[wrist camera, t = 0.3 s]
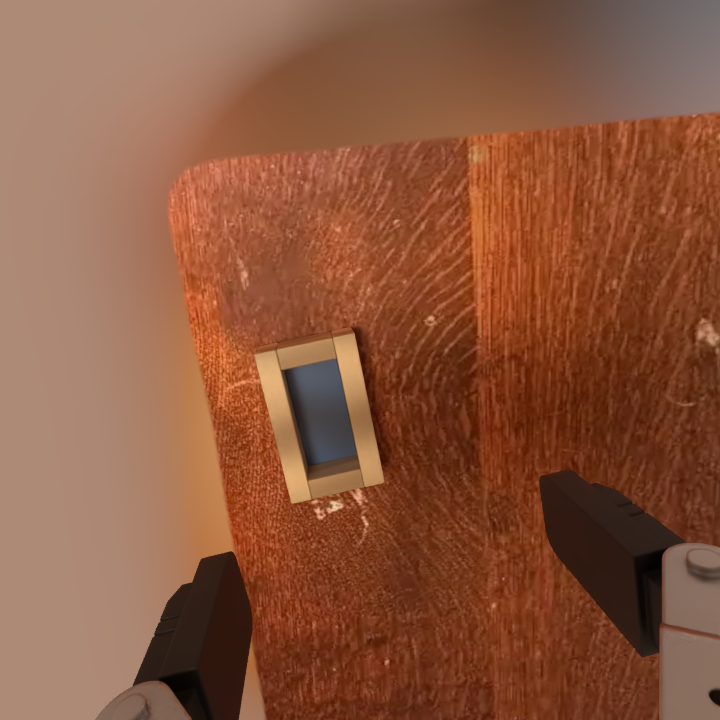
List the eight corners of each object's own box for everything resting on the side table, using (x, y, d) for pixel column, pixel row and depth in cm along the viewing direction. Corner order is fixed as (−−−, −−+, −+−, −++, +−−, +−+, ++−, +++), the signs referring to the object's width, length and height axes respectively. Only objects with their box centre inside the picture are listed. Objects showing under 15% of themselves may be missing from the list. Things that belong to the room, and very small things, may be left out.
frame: (258, 346, 28) (253, 354, 26) (350, 326, 28) (354, 332, 26) (292, 485, 30) (291, 504, 28) (378, 465, 30) (384, 482, 28)
